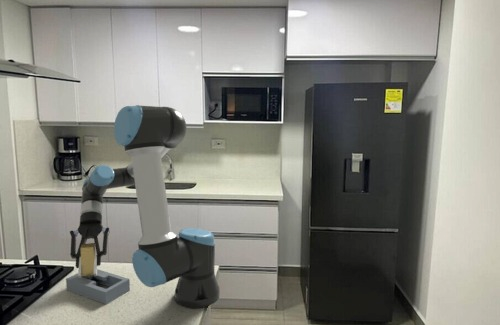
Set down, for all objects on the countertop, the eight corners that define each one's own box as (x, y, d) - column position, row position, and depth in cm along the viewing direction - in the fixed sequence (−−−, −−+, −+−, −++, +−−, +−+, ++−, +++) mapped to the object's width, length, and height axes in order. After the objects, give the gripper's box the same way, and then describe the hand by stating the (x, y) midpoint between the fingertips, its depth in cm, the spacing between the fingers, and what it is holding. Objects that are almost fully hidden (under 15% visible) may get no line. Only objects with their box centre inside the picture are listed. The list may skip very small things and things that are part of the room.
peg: (98, 281, 121) (96, 242, 119) (96, 288, 116) (94, 247, 114) (83, 283, 119) (80, 243, 117) (81, 290, 114) (78, 249, 112)
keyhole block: (129, 290, 116) (129, 278, 115) (106, 304, 107) (105, 292, 106) (91, 277, 124) (90, 267, 124) (66, 290, 115) (65, 278, 115)
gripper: (116, 218, 132) (115, 276, 119) (68, 221, 126) (61, 283, 113) (114, 208, 126) (113, 268, 113) (64, 212, 121) (57, 275, 108)
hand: (87, 275), depth 113 cm, fingers closed on peg, 4 cm apart
